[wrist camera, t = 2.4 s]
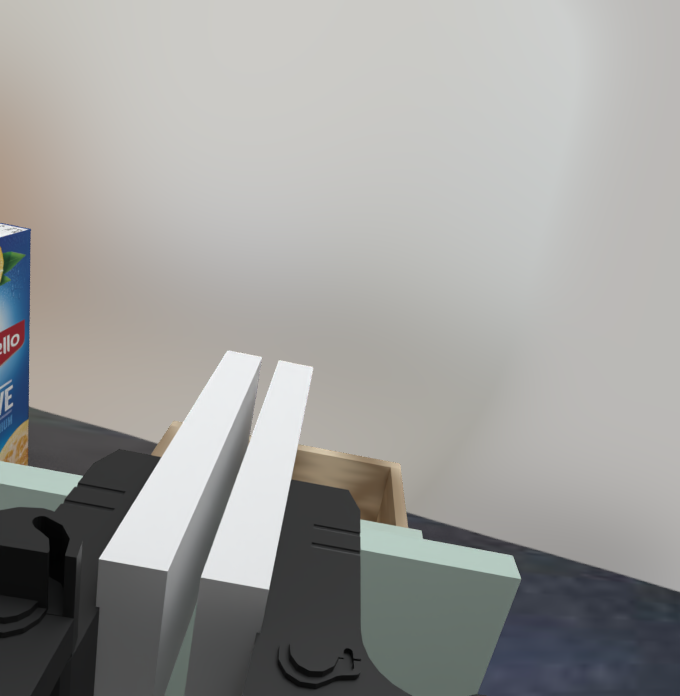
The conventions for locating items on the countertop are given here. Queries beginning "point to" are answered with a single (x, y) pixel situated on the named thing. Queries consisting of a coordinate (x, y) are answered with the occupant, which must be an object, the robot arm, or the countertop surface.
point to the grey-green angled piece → (376, 597)
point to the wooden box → (343, 478)
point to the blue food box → (14, 342)
